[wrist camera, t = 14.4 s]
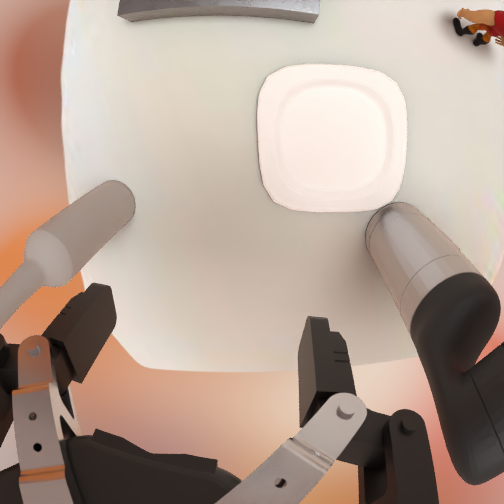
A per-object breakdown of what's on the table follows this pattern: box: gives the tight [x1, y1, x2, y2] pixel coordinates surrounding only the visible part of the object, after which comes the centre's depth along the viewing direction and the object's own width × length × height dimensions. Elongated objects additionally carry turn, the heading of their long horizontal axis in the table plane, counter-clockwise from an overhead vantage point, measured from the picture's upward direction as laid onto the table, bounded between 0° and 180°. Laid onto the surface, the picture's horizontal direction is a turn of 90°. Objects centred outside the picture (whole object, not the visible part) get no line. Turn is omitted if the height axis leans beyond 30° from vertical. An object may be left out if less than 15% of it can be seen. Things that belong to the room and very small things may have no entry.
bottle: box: [0, 180, 135, 329], centre depth 27 cm, size 7×7×28 cm
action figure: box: [453, 8, 504, 46], centre depth 17 cm, size 10×4×15 cm, turn 79°
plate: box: [257, 64, 407, 212], centre depth 33 cm, size 18×18×2 cm
